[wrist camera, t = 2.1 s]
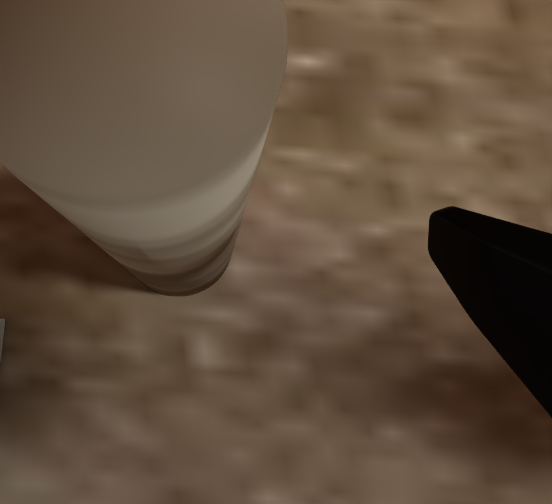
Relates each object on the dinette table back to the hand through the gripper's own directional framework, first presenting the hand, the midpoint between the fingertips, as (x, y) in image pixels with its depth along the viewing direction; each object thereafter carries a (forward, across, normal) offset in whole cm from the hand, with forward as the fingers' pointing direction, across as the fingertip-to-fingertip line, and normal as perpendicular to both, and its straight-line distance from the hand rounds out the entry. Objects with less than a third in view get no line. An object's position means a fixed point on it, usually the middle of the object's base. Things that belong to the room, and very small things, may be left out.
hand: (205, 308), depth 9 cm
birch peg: (+10, 0, +5) cm, 11 cm away
